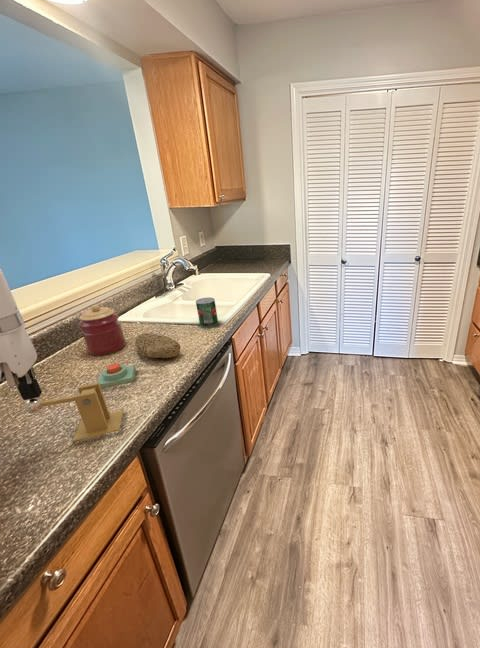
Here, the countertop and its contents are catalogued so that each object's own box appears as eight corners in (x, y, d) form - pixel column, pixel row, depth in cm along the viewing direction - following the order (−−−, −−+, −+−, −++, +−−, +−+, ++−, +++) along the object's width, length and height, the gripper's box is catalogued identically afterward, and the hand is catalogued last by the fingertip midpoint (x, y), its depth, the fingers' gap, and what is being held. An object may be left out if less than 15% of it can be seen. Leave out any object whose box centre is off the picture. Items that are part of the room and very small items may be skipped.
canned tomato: (196, 324, 142) (192, 300, 138) (212, 319, 147) (209, 296, 143) (205, 329, 137) (200, 304, 132) (221, 323, 142) (218, 300, 137)
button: (107, 375, 99) (105, 370, 98) (109, 369, 102) (107, 364, 102) (120, 372, 100) (118, 367, 100) (121, 367, 103) (120, 362, 103)
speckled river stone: (134, 353, 122) (142, 364, 106) (132, 332, 121) (140, 340, 105) (170, 348, 129) (183, 358, 113) (169, 329, 128) (182, 336, 112)
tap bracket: (74, 444, 77) (57, 404, 73) (82, 423, 84) (67, 385, 80) (120, 432, 80) (107, 393, 76) (124, 413, 87) (112, 376, 83)
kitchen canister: (101, 359, 117) (86, 313, 110) (81, 351, 123) (66, 308, 116) (133, 344, 127) (121, 301, 120) (114, 337, 133) (101, 297, 126)
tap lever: (24, 418, 73) (19, 405, 72) (30, 408, 76) (25, 396, 75) (95, 404, 78) (92, 392, 77) (98, 396, 81) (95, 384, 80)
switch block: (97, 391, 98) (93, 380, 96) (102, 378, 105) (98, 367, 103) (133, 383, 101) (130, 372, 99) (136, 371, 108) (133, 360, 106)
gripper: (-6, 314, 72) (26, 383, 79) (-44, 342, 59) (-2, 421, 66) (34, 309, 75) (61, 376, 82) (5, 334, 62) (41, 411, 69)
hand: (33, 396), depth 74 cm, fingers closed
